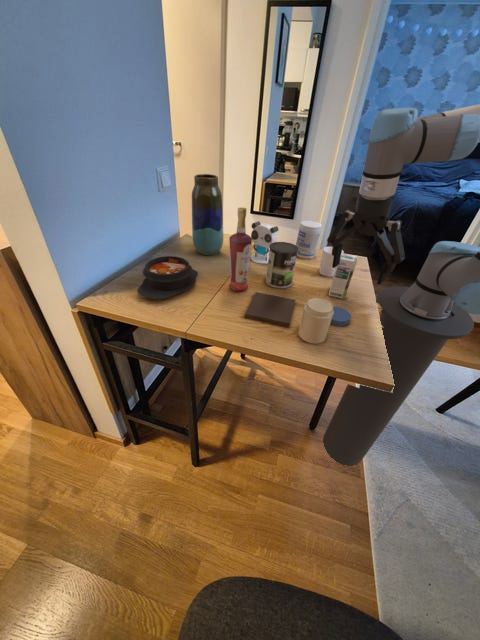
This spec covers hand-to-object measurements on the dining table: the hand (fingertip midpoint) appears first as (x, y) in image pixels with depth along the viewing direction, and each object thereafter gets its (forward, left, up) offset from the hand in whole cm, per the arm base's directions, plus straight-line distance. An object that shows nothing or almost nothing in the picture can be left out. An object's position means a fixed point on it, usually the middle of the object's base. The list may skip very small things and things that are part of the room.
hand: (356, 273), depth 74 cm
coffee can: (+23, -16, -16) cm, 33 cm away
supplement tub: (+16, -46, -16) cm, 52 cm away
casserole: (+60, +2, -16) cm, 63 cm away
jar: (+8, +12, -16) cm, 22 cm away
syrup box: (+1, -15, -16) cm, 22 cm away
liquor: (+36, -5, -16) cm, 40 cm away
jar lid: (+2, +1, -14) cm, 15 cm away
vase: (+59, -32, -16) cm, 69 cm away
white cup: (+5, -31, -16) cm, 35 cm away
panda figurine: (+34, -35, -16) cm, 52 cm away
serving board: (+22, +4, -16) cm, 28 cm away
